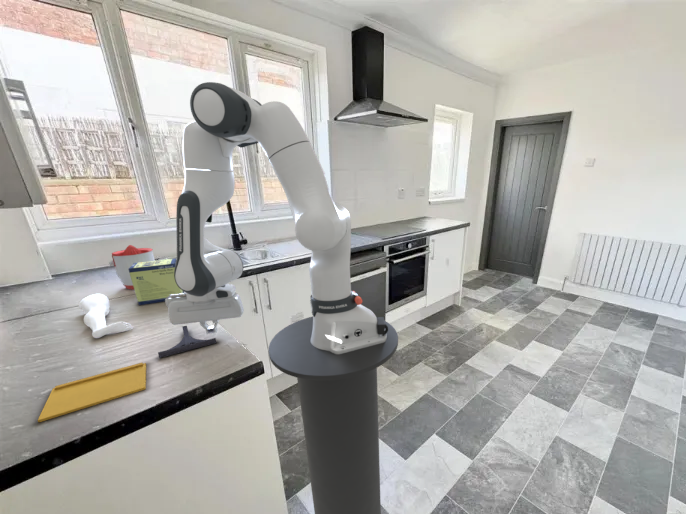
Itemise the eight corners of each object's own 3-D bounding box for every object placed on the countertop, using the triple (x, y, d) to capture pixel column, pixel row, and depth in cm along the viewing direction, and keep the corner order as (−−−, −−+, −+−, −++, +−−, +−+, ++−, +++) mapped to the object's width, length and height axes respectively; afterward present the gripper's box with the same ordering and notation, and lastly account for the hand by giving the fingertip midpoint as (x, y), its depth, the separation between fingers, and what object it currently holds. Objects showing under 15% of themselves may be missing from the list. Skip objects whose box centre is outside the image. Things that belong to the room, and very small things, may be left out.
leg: (108, 288, 123) (72, 295, 116) (129, 316, 102) (87, 327, 95) (113, 303, 126) (78, 311, 118) (135, 334, 105) (94, 346, 97)
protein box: (183, 298, 131) (174, 263, 126) (138, 305, 124) (127, 268, 119) (184, 291, 140) (176, 257, 134) (142, 297, 133) (132, 262, 127)
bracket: (210, 326, 105) (208, 318, 104) (216, 343, 94) (215, 335, 93) (159, 338, 98) (157, 330, 97) (159, 359, 86) (157, 350, 85)
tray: (146, 364, 83) (145, 361, 83) (145, 389, 73) (144, 385, 73) (53, 390, 74) (52, 386, 73) (38, 422, 64) (36, 418, 63)
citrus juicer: (116, 286, 148) (102, 245, 141) (159, 279, 158) (149, 240, 151) (116, 295, 136) (102, 250, 130) (163, 286, 147) (152, 244, 140)
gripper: (159, 298, 87) (171, 341, 92) (237, 291, 92) (244, 332, 97) (167, 291, 93) (178, 332, 98) (240, 284, 98) (247, 324, 103)
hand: (212, 332), depth 97 cm, fingers closed
